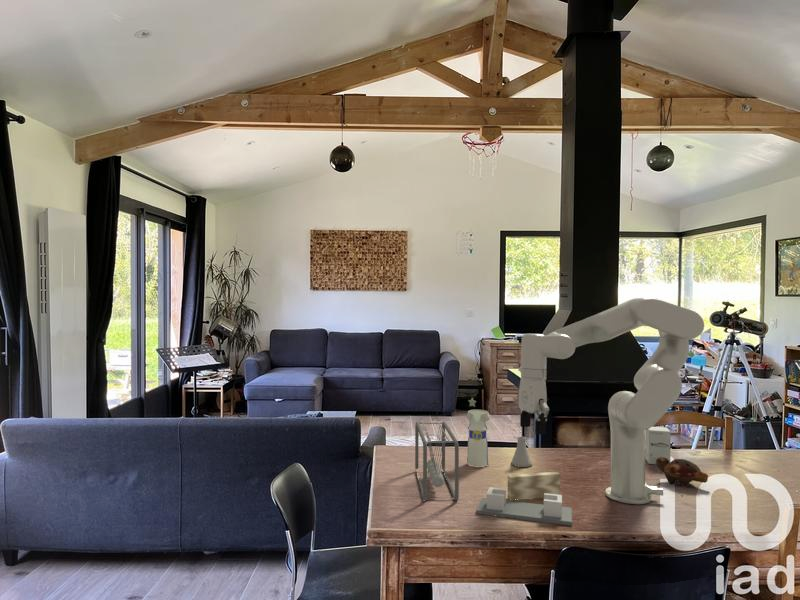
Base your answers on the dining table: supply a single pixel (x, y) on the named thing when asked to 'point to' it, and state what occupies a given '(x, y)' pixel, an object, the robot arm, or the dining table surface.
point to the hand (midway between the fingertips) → (532, 430)
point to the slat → (533, 485)
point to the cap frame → (525, 508)
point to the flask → (521, 454)
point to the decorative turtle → (681, 471)
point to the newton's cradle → (432, 464)
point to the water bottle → (477, 436)
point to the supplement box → (657, 444)
